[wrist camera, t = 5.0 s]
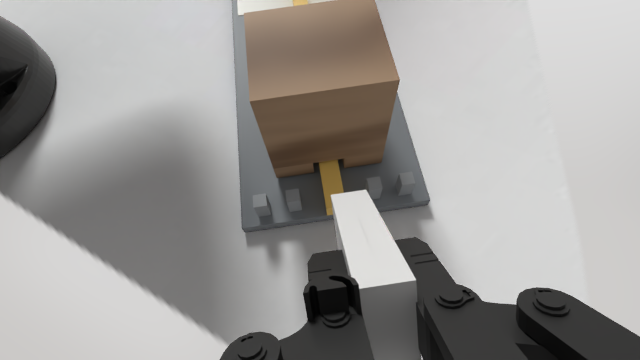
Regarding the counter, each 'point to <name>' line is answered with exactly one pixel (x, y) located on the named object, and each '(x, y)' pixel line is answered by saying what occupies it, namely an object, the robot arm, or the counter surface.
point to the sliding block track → (329, 176)
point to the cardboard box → (320, 83)
